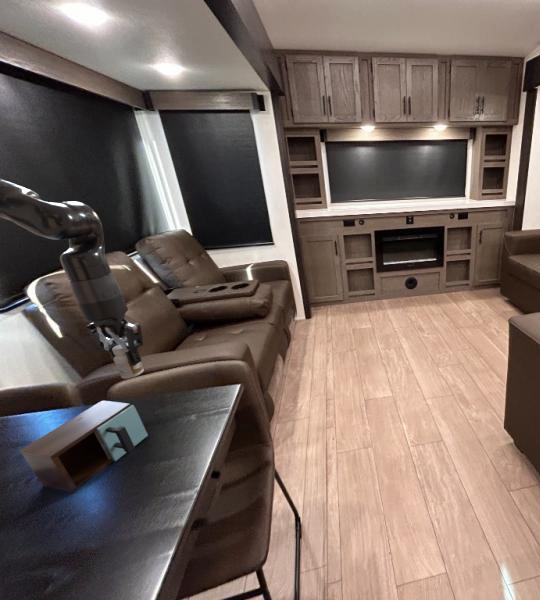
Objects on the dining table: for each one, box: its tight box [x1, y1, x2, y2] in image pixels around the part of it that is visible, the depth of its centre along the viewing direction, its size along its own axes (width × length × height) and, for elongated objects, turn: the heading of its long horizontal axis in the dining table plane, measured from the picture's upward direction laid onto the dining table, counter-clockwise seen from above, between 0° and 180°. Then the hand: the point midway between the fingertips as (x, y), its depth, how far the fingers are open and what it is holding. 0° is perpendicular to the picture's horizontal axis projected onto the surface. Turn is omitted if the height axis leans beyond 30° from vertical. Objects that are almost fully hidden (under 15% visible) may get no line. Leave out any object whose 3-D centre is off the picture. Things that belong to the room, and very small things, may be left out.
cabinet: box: [19, 400, 132, 494], centre depth 64 cm, size 8×14×9 cm, turn 166°
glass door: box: [97, 404, 149, 462], centre depth 66 cm, size 5×7×8 cm
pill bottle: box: [112, 342, 145, 380], centre depth 76 cm, size 4×4×8 cm
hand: (128, 362), depth 76 cm, fingers closed on pill bottle, 4 cm apart
